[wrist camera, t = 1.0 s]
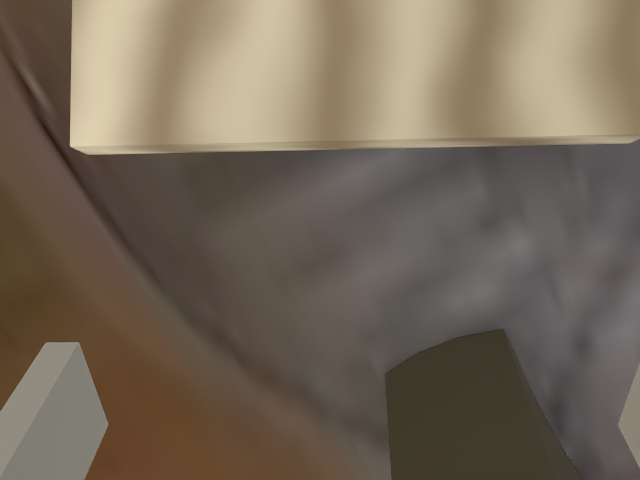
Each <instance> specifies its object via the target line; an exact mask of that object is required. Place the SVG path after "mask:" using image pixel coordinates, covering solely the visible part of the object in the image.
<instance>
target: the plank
mask: <svg viewBox="0 0 640 480" xmlns="http://www.w3.org/2000/svg"><path fill="white" fill-rule="evenodd" d="M638 139H640V0H72V55H71V118H70V147H72V148H75V149H77V150H79V151H81V152H84V153H86V154H88V155H91V154H139V153H187V152H235V151H283V150H331V149H379V148H427V147H475V146H523V145H571V144H619V143H631V142H634V141H636V140H638Z"/></svg>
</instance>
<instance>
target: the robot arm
mask: <svg viewBox="0 0 640 480" xmlns="http://www.w3.org/2000/svg"><path fill="white" fill-rule="evenodd" d="M618 426H619V428H620V430H621V432H622V434H623V436H624V438H625V440H626V442H627V444H628V446H629V448H630V450H631V452H632V454H633V456H634V458H635V460H636V462H637V464H638V466H639V468H640V363H639V366H638V369H637V372H636V374H635V377H634V380H633V383H632V386H631V389H630V391H629V394H628V397H627V400H626V403H625V406H624V408H623V411H622V414H621V417H620V420H619V423H618ZM107 427H108V422H107V419H106V416H105V414H104V411H103V408H102V405H101V403H100V400H99V397H98V394H97V391H96V389H95V386H94V383H93V380H92V378H91V375H90V372H89V369H88V366H87V364H86V361H85V358H84V355H83V353H82V350H81V347H80V344H79V342H65V343H45V345H44V346H43V348H42V349H41V351H40V352H39V354H38V355H37V357H36V358H35V360H34V361H33V363H32V365H31V366H30V368H29V369H28V371H27V372H26V374H25V375H24V377H23V378H22V380H21V381H20V383H19V384H18V386H17V387H16V389H15V390H14V392H13V393H12V395H11V397H10V398H9V400H8V401H7V403H6V404H5V406H4V407H3V409H2V410H1V412H0V480H84V479H85V477H86V475H87V472H88V470H89V468H90V465H91V463H92V461H93V459H94V456H95V454H96V452H97V450H98V447H99V445H100V443H101V440H102V438H103V436H104V434H105V431H106V429H107Z"/></svg>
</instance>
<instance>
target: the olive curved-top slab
mask: <svg viewBox="0 0 640 480" xmlns="http://www.w3.org/2000/svg"><path fill="white" fill-rule="evenodd" d="M385 380H386V396H387V412H388V428H389V444H390V460H391V477H392V480H583V479H582V478H581V476H580V475H579V473H578V472H577V470H576V469H575V467H574V466H573V464H572V463H571V461H570V460H569V458H568V457H567V456H566V454H565V453H564V451H563V449H562V447H561V445H560V443H559V442H558V440H557V438H556V436H555V434H554V432H553V430H552V429H551V427H550V425H549V423H548V421H547V419H546V417H545V416H544V414H543V412H542V410H541V408H540V406H539V404H538V403H537V401H536V399H535V397H534V395H533V393H532V391H531V389H530V386H529V384H528V382H527V380H526V378H525V375H524V373H523V371H522V369H521V367H520V364H519V362H518V360H517V358H516V356H515V353H514V351H513V349H512V347H511V345H510V342H509V340H508V338H507V336H506V334H505V331H504V329H503V330H497V331H492V332H486V333H480V334H475V335H469V336H463V337H458V338H455V339H453V340H450V341H447V342H445V343H442V344H440V345H437V346H434V347H432V348H429V349H427V350H424V351H421V352H419V353H417V354H415V355H414V356H412V357H411V358H409V359H408V360H406V361H405V362H403V363H402V364H400V365H399V366H397V367H396V368H394V369H392V370H391V371H389V372H388V373H386V374H385Z"/></svg>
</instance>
